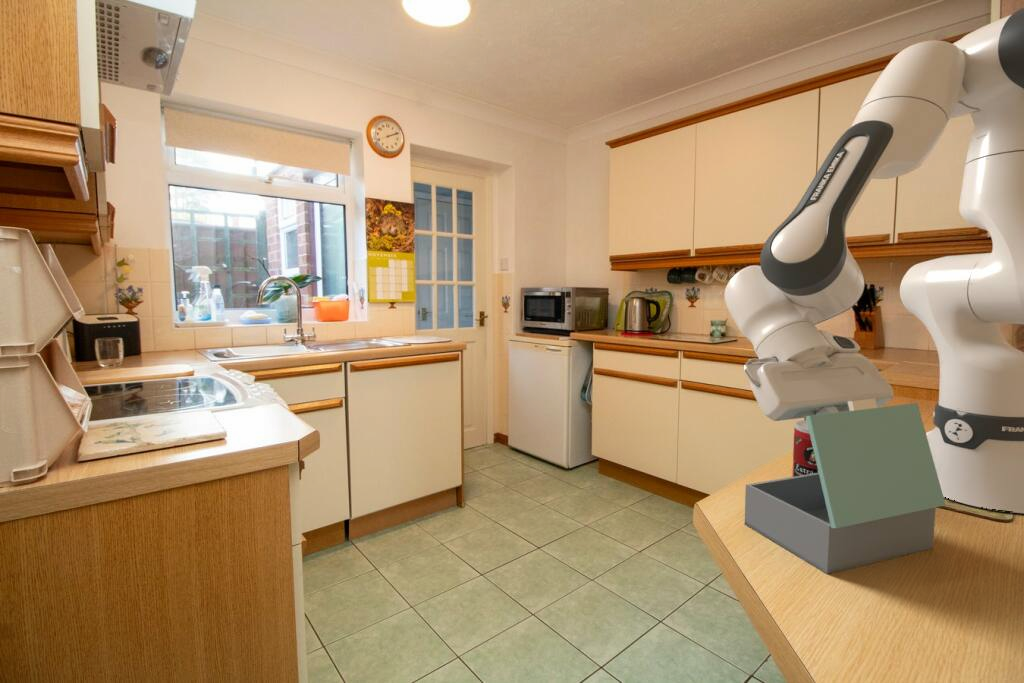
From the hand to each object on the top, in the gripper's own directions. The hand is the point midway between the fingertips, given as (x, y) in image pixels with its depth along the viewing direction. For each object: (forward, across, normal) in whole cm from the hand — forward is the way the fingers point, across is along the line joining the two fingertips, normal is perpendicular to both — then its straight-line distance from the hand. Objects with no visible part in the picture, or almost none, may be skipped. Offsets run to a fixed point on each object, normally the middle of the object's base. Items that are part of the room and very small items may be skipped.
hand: (858, 439), depth 61 cm
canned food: (0, +12, +21) cm, 24 cm away
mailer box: (+8, 0, +12) cm, 15 cm away
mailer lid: (+3, 0, 0) cm, 3 cm away
